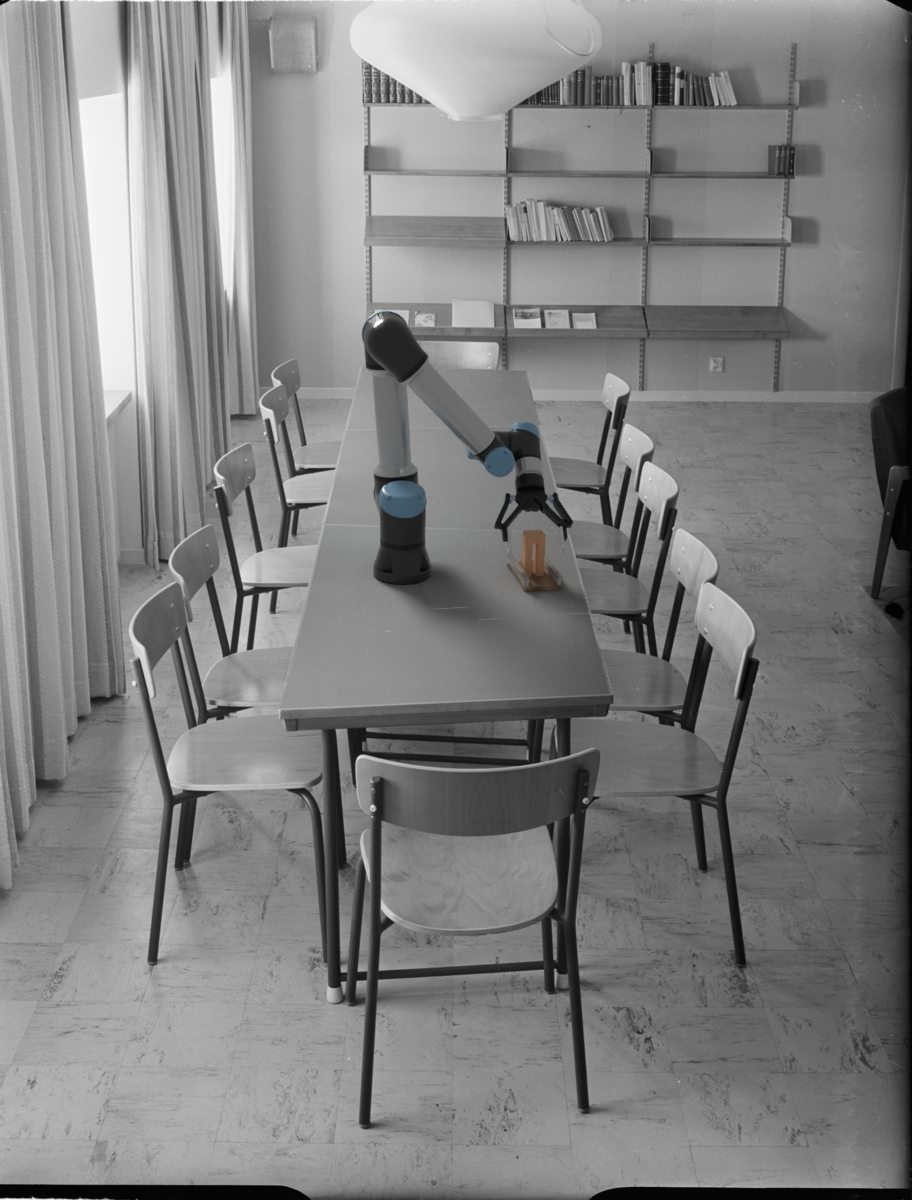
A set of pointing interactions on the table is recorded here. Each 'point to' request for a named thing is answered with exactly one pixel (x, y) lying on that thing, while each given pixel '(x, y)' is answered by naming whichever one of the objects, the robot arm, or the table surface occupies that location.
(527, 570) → the clip
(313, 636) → the table surface
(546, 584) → the rail
